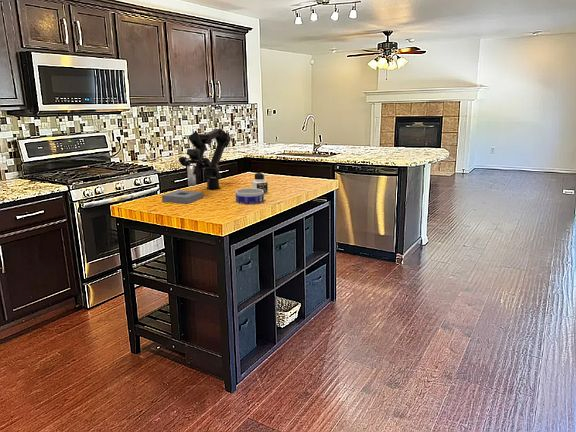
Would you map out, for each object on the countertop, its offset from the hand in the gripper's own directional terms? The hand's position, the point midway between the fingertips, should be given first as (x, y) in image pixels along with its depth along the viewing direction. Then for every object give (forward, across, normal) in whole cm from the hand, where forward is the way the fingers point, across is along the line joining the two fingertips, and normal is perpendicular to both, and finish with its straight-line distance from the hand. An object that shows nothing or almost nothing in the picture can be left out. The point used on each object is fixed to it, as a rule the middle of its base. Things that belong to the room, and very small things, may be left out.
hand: (190, 174), depth 250 cm
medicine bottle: (-6, +33, +26) cm, 42 cm away
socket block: (+15, -1, +4) cm, 15 cm away
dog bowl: (+9, +36, +10) cm, 39 cm away
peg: (+4, 0, +6) cm, 7 cm away
